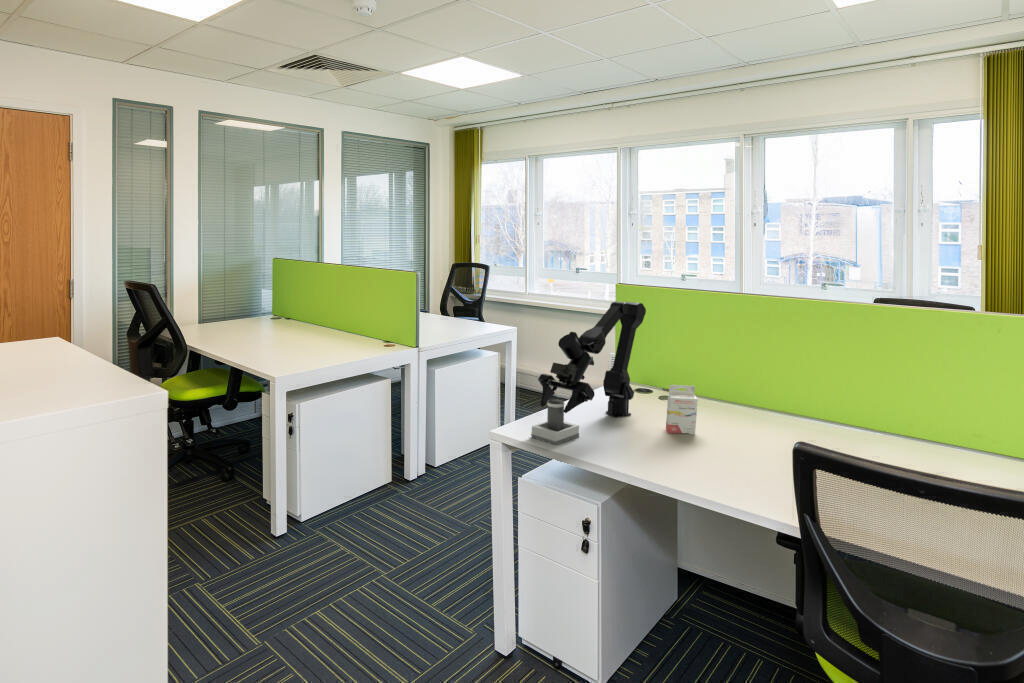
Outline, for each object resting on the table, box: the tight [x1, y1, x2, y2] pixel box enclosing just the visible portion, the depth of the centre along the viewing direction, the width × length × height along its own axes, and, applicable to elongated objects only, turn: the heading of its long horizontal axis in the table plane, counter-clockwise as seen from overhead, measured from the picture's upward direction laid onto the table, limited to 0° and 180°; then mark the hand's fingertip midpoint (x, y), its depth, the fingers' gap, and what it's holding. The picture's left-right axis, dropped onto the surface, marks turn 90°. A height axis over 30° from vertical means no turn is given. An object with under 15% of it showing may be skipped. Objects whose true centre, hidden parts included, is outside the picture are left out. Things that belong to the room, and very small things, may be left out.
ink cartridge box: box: [665, 384, 699, 435], centre depth 194 cm, size 9×5×15 cm, turn 84°
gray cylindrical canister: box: [546, 399, 565, 432], centre depth 188 cm, size 5×5×10 cm
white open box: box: [530, 420, 580, 446], centre depth 189 cm, size 11×10×4 cm
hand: (552, 409), depth 186 cm, fingers open, 9 cm apart
